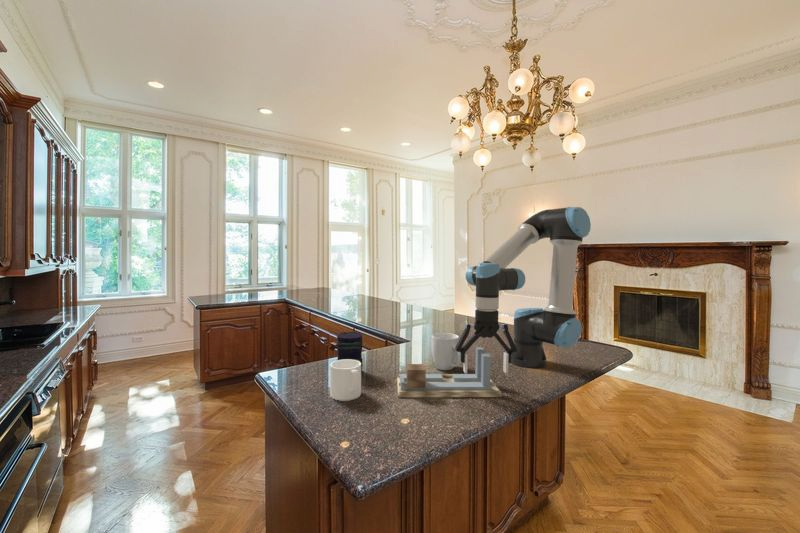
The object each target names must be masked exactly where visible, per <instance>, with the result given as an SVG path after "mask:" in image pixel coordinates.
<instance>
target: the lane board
mask: <svg viewBox="0 0 800 533" xmlns="http://www.w3.org/2000/svg"><path fill="white" fill-rule="evenodd" d="M400 374H401V373H400ZM400 374H399V373H398V376H397V377H396V380H397V398H503V394H502V391H501V390H500V389H499V388H498V387H497V385H496V383H495V382H494V381H493V380H492V379H491V378H490V385H491V387H492V390H486V391H401V382H400ZM441 374H442V373H441ZM452 374H453V373H452ZM452 374H450V373H449V374H448V373H445V374H444V373H443V374H442V377H443V382H454V381H453V378H452Z"/></svg>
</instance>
